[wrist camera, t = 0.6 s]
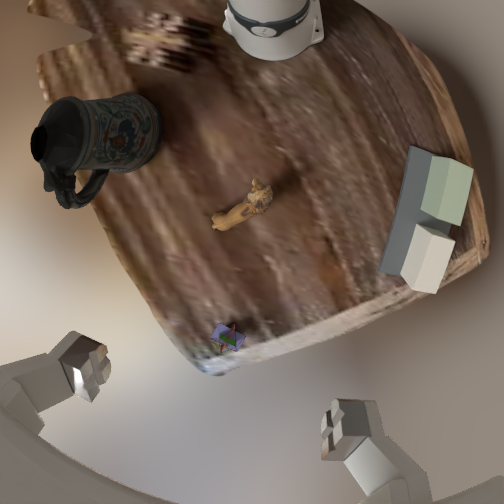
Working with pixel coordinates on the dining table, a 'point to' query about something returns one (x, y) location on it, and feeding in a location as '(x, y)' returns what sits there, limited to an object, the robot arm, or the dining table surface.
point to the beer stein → (94, 142)
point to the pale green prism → (447, 189)
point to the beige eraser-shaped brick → (427, 259)
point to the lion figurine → (245, 207)
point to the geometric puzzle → (227, 337)
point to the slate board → (410, 212)
